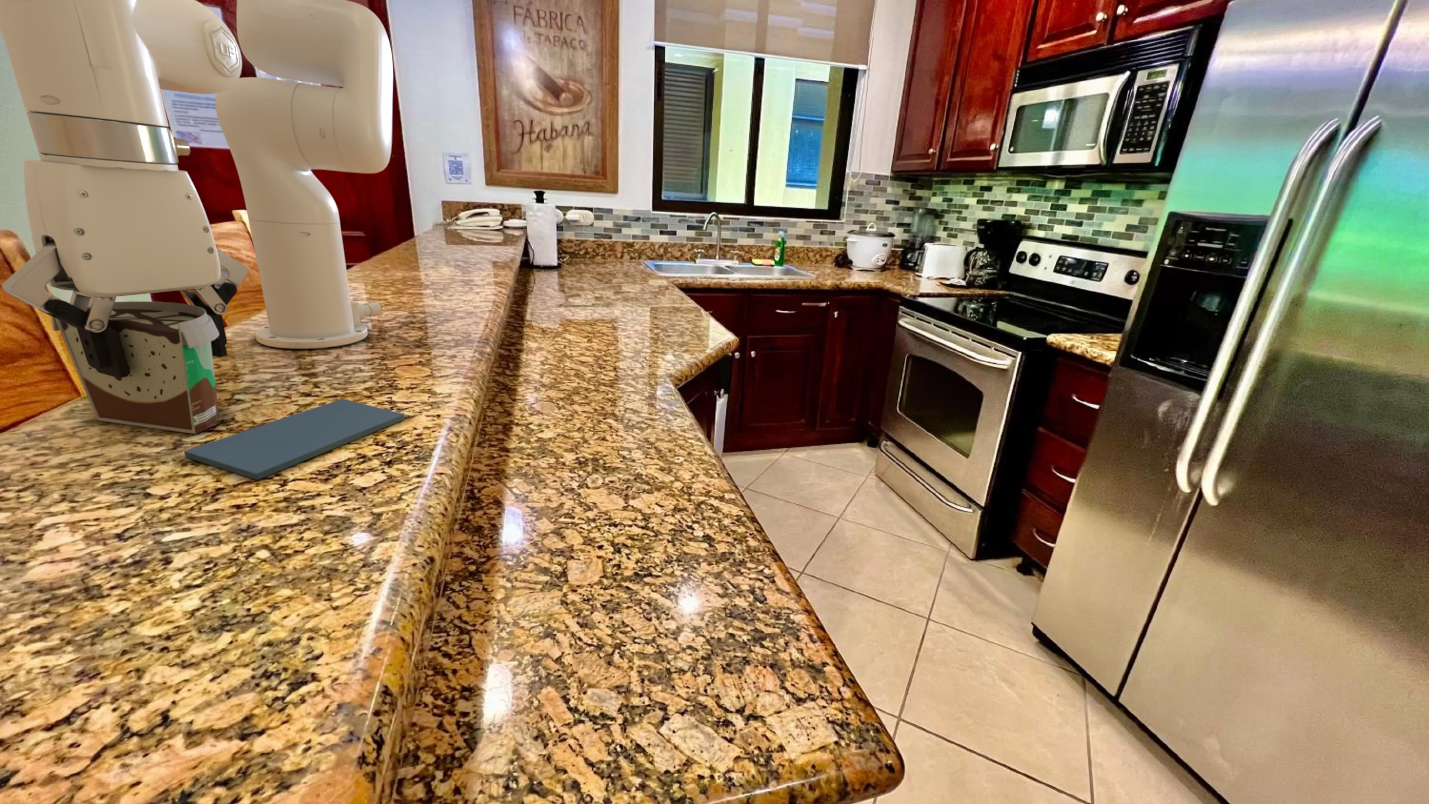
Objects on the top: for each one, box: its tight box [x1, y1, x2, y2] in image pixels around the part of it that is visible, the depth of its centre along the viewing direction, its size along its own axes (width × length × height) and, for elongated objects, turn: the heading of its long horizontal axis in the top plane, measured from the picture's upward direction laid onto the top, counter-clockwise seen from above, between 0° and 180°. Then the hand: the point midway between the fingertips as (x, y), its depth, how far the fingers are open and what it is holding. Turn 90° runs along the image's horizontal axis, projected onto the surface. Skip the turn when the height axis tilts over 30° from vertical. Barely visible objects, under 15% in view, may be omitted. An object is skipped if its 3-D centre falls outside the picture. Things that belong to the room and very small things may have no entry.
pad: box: [183, 398, 406, 481], centre depth 50 cm, size 14×8×1 cm, turn 162°
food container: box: [50, 300, 220, 435], centre depth 50 cm, size 12×6×10 cm, turn 84°
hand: (165, 362), depth 49 cm, fingers closed on food container, 6 cm apart
